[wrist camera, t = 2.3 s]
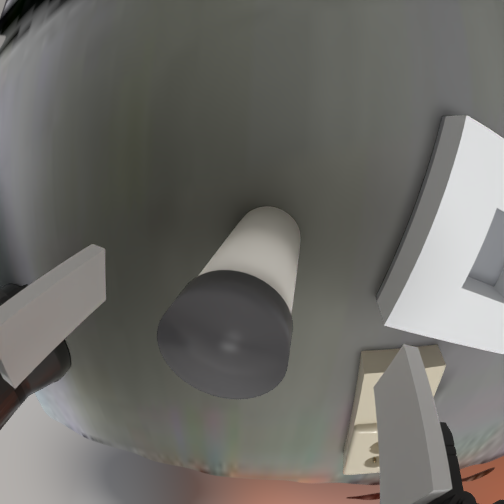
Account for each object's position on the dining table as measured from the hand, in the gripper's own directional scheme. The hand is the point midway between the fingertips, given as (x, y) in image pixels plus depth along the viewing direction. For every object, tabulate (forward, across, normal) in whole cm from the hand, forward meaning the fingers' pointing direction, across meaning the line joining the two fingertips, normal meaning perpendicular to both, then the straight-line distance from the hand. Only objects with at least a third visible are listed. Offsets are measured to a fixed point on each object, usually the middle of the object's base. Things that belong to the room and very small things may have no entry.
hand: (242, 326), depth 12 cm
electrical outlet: (+11, +16, -15) cm, 24 cm away
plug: (+10, -1, 0) cm, 10 cm away
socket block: (+10, +15, +5) cm, 19 cm away
